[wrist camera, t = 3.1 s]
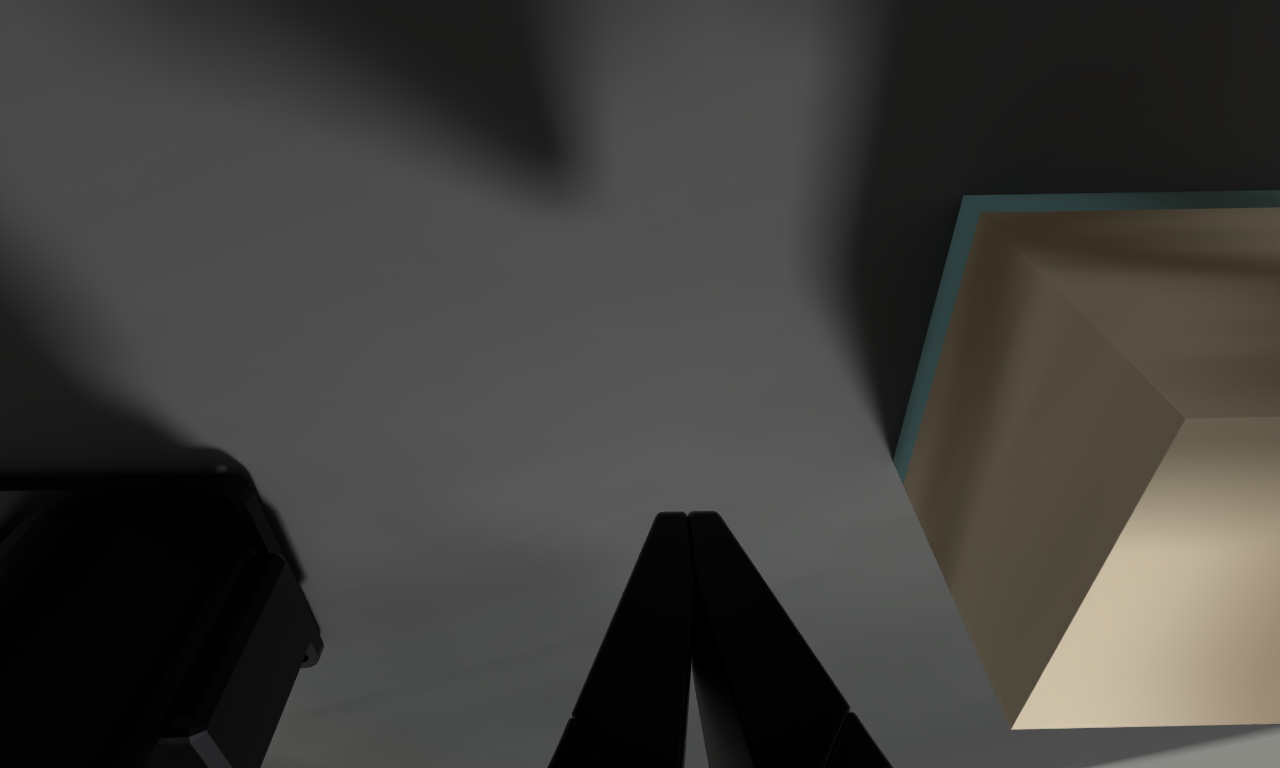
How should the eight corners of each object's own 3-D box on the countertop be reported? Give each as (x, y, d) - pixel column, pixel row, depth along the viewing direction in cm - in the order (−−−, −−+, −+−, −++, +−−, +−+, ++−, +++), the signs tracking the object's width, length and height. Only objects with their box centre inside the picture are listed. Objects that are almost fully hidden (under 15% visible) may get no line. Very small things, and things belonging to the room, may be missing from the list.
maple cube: (892, 458, 16) (1010, 729, 11) (961, 193, 12) (1185, 418, 7) (1166, 453, 16) (1408, 720, 11) (1317, 187, 12) (1774, 407, 7)
